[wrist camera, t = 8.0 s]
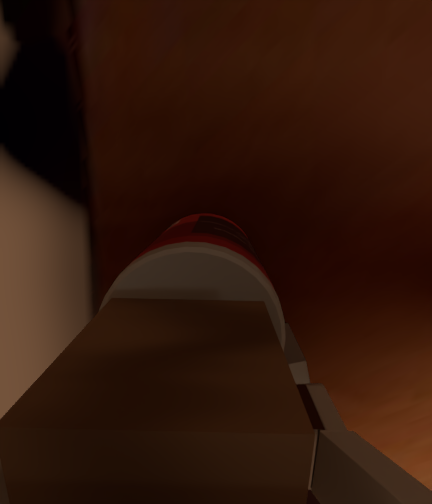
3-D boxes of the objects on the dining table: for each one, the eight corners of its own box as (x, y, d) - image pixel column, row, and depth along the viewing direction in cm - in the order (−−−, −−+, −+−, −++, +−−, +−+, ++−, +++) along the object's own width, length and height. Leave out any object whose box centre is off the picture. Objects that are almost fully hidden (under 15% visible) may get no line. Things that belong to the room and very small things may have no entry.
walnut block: (264, 301, 9) (315, 434, 4) (255, 425, 10) (288, 638, 6) (111, 297, 9) (-7, 427, 4) (121, 422, 10) (37, 632, 6)
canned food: (153, 306, 23) (94, 419, 12) (156, 206, 21) (89, 236, 10) (247, 313, 23) (273, 432, 12) (259, 215, 21) (302, 253, 10)
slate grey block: (287, 322, 23) (306, 360, 18) (297, 373, 24) (317, 422, 19) (228, 334, 23) (230, 375, 18) (241, 384, 25) (246, 434, 20)
